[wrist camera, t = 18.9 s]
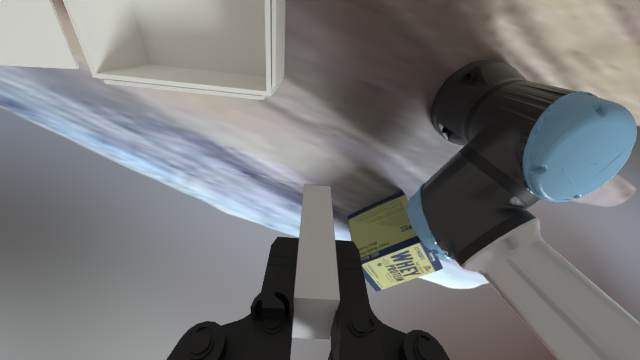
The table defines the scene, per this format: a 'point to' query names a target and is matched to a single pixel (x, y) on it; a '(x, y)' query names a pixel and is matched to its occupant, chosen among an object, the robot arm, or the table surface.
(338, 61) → the table surface
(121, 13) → the carton
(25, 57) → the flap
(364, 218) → the protein box
